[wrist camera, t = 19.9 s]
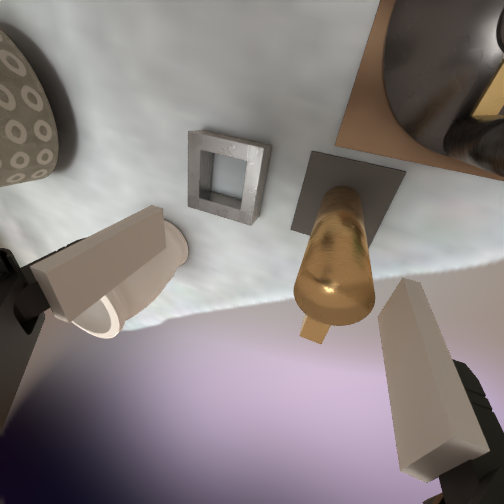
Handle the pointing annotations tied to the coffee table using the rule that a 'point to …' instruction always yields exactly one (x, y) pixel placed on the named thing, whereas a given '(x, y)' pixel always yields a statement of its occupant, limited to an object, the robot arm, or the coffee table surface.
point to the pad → (351, 175)
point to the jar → (135, 289)
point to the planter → (24, 120)
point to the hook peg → (335, 267)
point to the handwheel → (449, 77)
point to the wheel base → (386, 112)
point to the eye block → (201, 175)
